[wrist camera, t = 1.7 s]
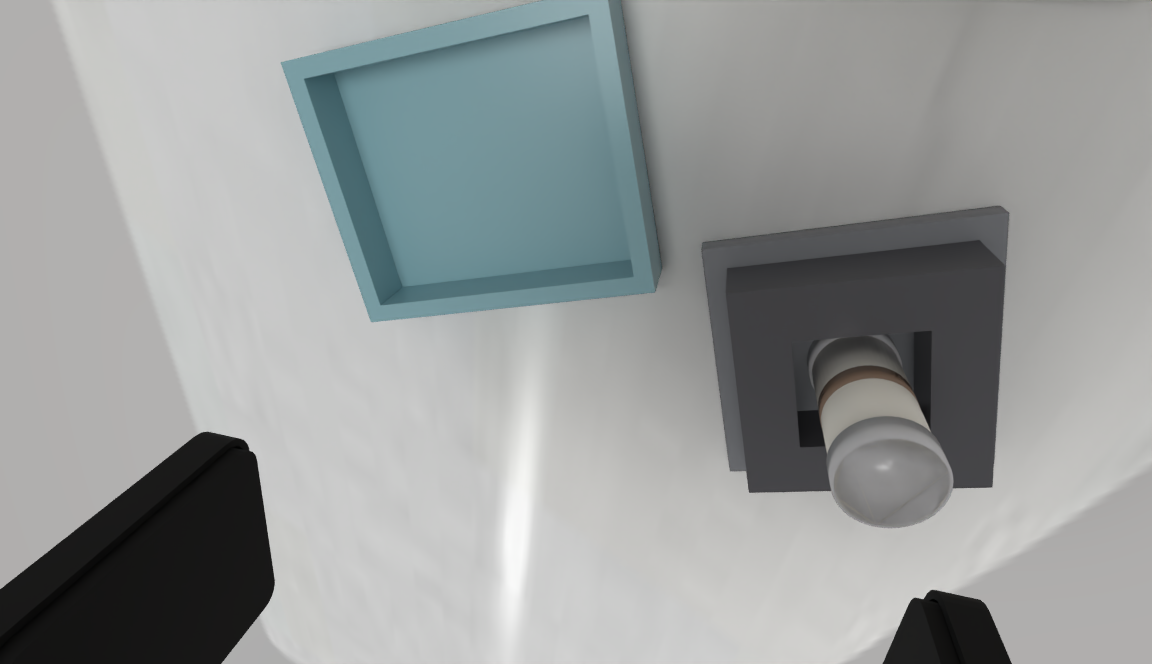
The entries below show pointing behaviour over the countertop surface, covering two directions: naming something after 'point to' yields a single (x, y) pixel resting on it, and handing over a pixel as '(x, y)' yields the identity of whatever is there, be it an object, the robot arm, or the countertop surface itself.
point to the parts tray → (485, 161)
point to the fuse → (876, 434)
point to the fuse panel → (858, 334)
